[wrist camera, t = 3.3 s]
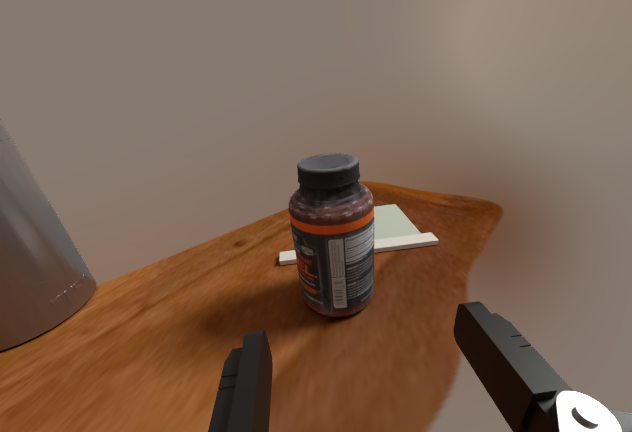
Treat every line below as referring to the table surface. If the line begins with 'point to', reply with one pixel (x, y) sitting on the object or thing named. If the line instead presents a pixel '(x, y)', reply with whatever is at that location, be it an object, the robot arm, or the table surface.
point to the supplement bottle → (333, 234)
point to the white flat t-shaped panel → (386, 233)
